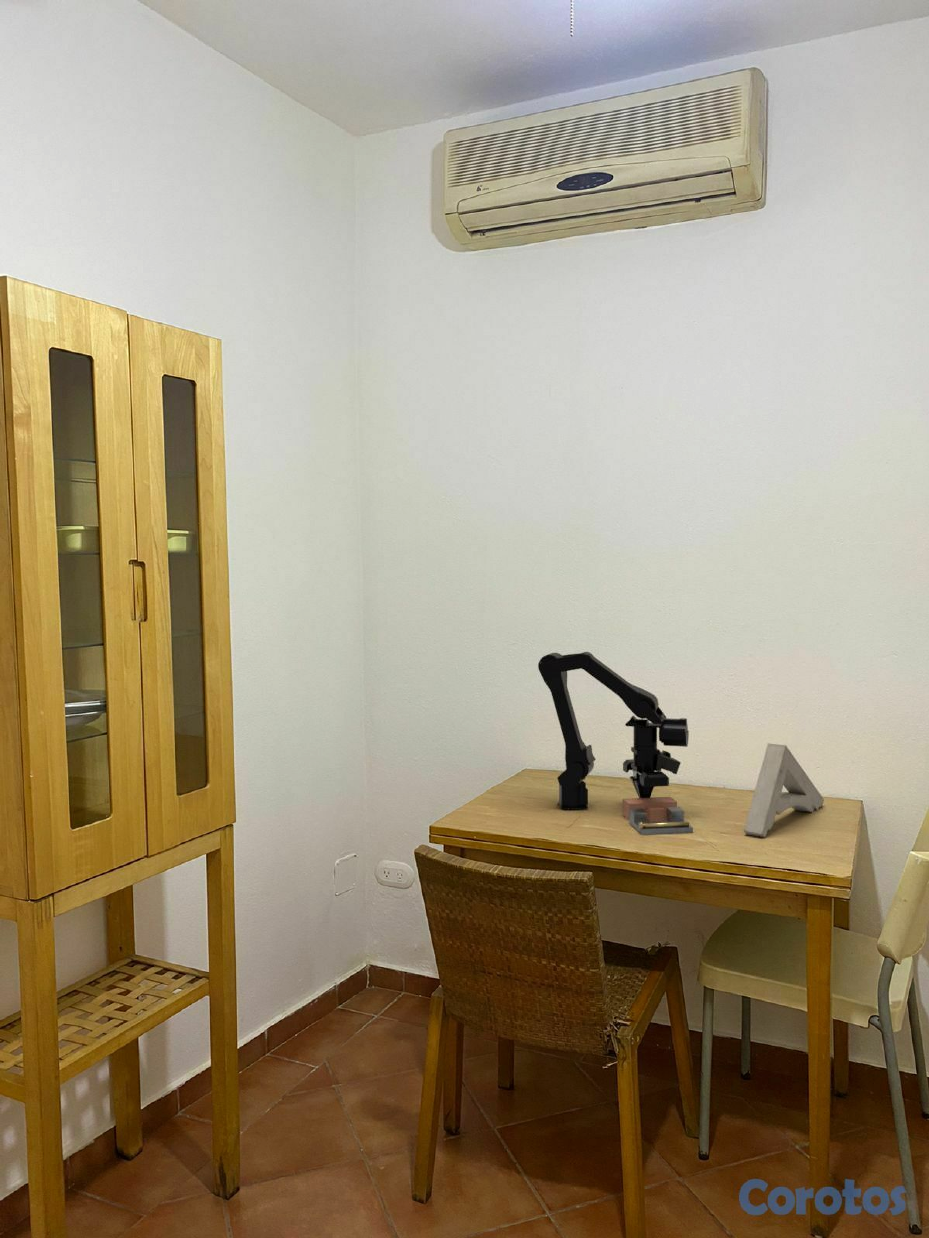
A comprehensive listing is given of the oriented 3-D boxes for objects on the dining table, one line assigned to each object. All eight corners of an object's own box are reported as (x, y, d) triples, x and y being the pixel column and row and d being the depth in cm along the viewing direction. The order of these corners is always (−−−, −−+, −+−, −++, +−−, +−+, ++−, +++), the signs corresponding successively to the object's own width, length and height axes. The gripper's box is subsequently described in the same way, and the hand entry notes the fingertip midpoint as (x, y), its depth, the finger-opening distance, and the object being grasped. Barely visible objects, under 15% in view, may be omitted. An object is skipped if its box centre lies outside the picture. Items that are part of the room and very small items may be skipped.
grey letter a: (803, 882, 240) (762, 834, 220) (785, 879, 243) (743, 830, 223) (823, 799, 249) (785, 745, 229) (806, 796, 251) (767, 743, 232)
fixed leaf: (641, 834, 224) (641, 819, 224) (629, 823, 234) (629, 808, 234) (692, 832, 226) (692, 817, 226) (678, 821, 235) (678, 806, 235)
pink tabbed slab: (632, 823, 234) (633, 806, 234) (622, 814, 242) (622, 798, 242) (681, 821, 236) (681, 804, 236) (669, 812, 244) (669, 796, 243)
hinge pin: (640, 829, 225) (640, 823, 225) (638, 828, 227) (638, 821, 226) (689, 828, 226) (689, 821, 226) (687, 826, 228) (687, 819, 228)
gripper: (690, 750, 235) (689, 815, 236) (664, 736, 253) (664, 796, 255) (644, 752, 234) (644, 817, 235) (622, 737, 252) (622, 798, 253)
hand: (645, 806), depth 244 cm, fingers closed
